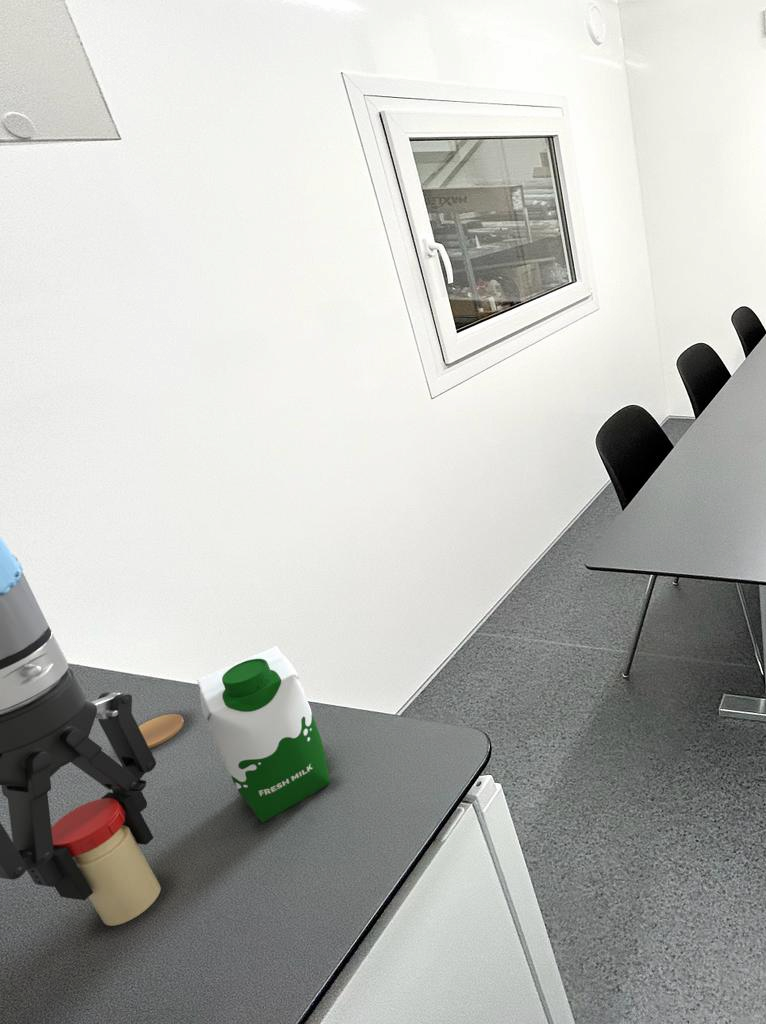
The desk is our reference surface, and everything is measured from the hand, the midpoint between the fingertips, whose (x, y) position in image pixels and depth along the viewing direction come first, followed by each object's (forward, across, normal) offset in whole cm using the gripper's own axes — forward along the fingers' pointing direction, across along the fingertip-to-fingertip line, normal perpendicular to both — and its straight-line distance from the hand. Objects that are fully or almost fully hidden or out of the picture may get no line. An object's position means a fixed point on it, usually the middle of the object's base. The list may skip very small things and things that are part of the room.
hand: (109, 865), depth 64 cm
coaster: (+6, +20, +21) cm, 29 cm away
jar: (+6, 0, 0) cm, 6 cm away
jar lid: (-6, 0, 0) cm, 6 cm away
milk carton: (+6, +14, -5) cm, 16 cm away
